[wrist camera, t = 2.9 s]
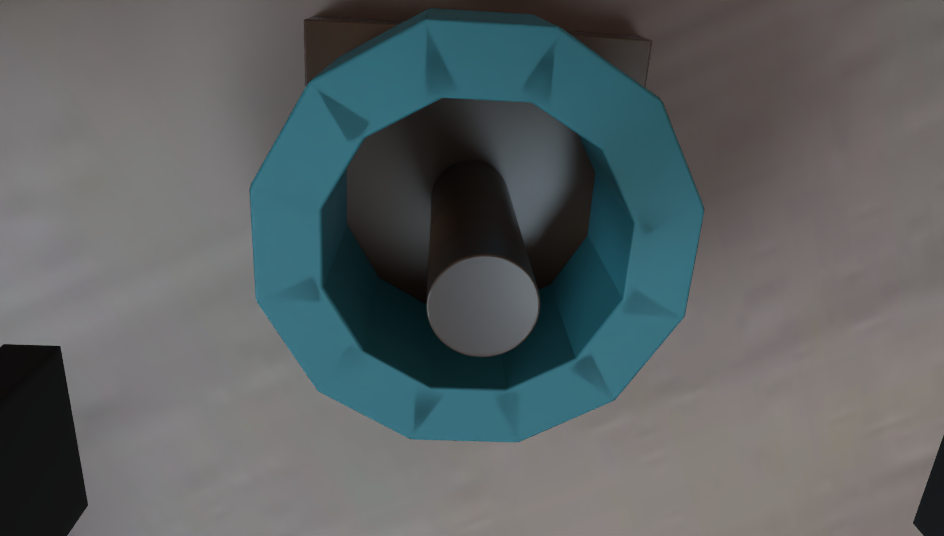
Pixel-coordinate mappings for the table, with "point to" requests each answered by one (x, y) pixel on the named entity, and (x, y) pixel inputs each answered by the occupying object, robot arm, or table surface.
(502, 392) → the tape roll
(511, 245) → the tape post
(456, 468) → the table surface
